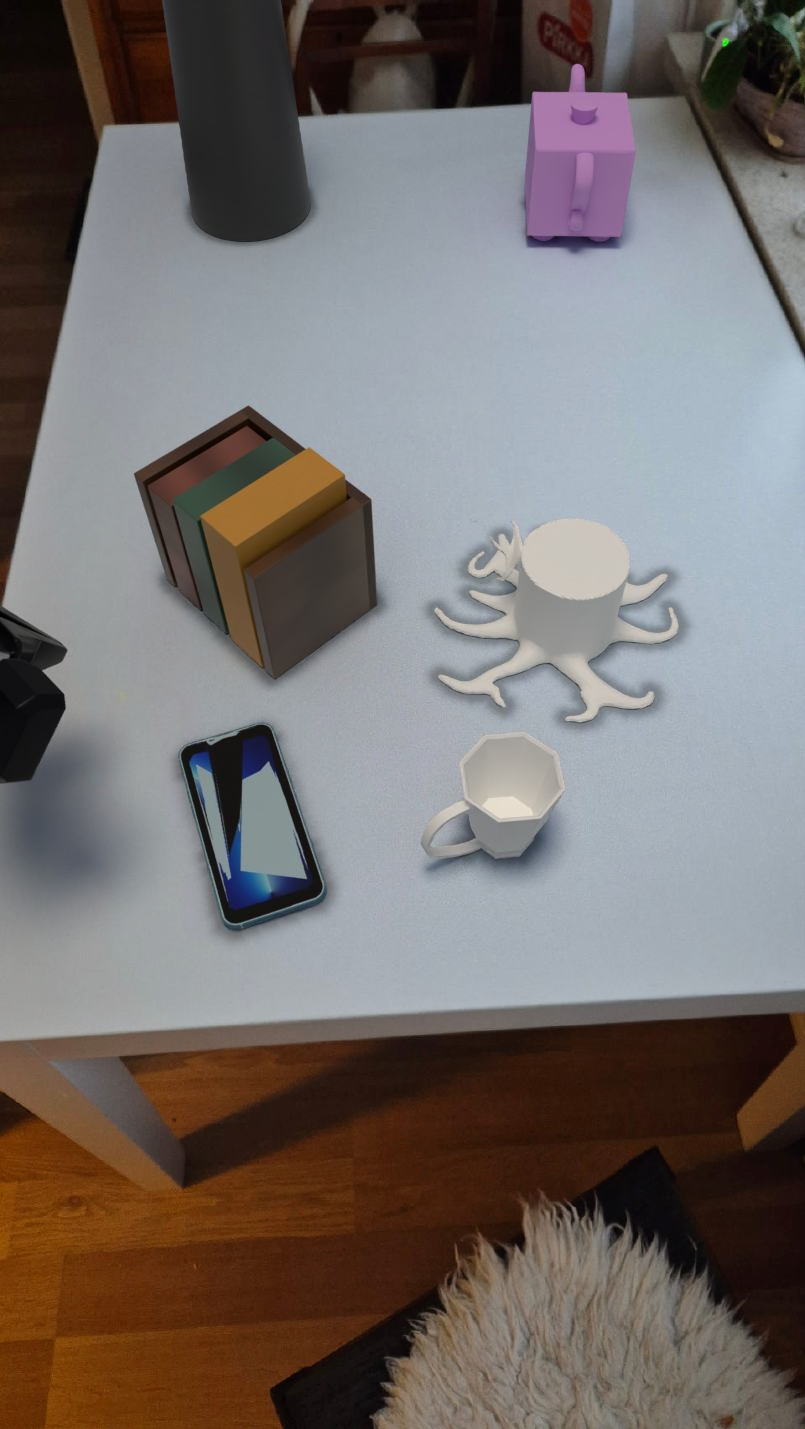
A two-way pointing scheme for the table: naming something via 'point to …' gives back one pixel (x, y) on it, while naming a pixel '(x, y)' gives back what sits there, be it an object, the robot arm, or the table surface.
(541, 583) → the tree stump
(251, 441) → the bookshelf
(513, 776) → the cup
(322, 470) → the ochre book
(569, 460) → the table surface
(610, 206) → the teapot
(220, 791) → the smartphone
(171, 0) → the vase
